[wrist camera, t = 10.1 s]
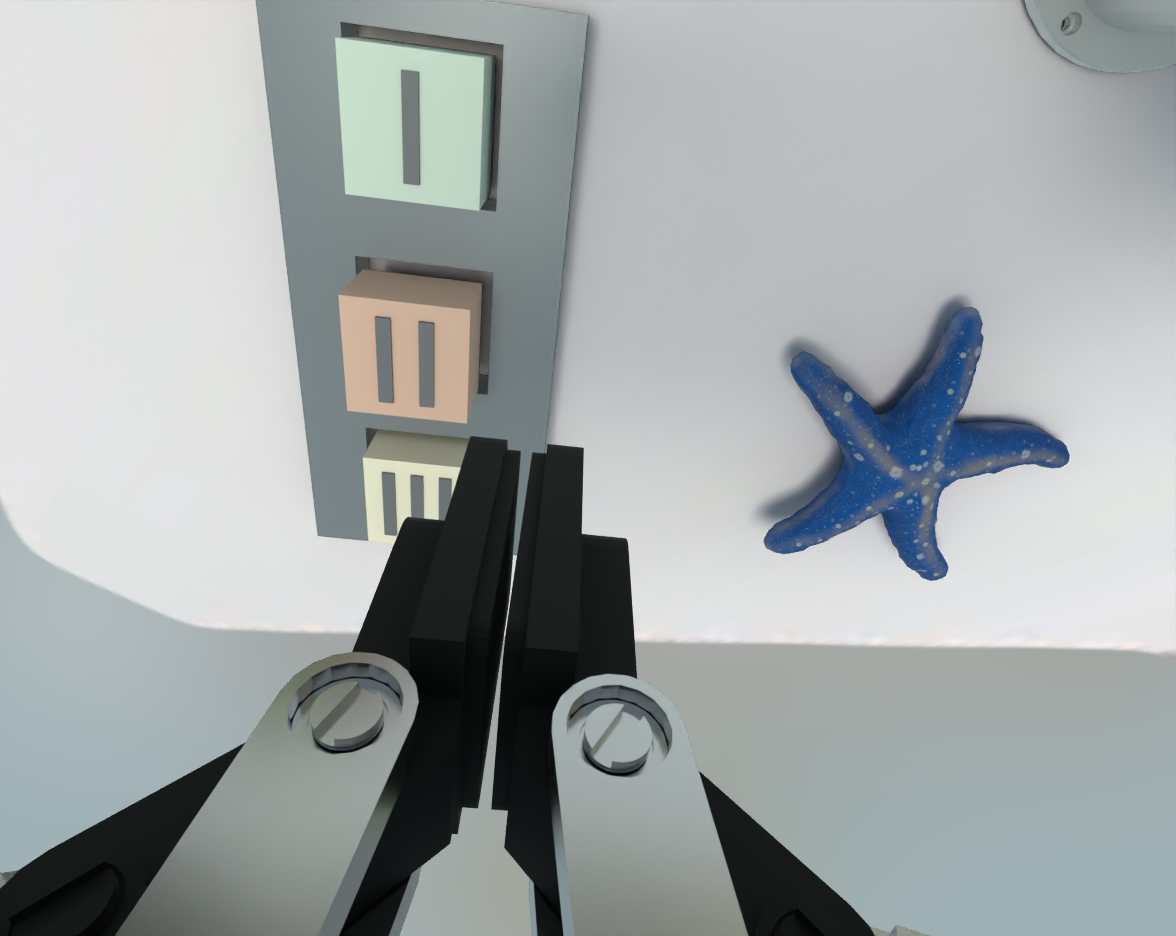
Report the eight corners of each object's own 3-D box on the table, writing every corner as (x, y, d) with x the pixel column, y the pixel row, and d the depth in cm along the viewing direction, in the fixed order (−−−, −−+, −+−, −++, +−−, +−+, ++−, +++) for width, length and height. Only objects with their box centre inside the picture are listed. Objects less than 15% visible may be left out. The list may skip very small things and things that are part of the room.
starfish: (1013, 552, 48) (1053, 602, 44) (746, 558, 49) (760, 608, 44) (1114, 289, 38) (1179, 321, 34) (776, 299, 39) (799, 332, 34)
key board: (588, 16, 31) (588, 14, 29) (536, 533, 47) (533, 556, 45) (275, -29, 31) (251, -34, 28) (330, 513, 47) (317, 536, 44)
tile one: (496, 55, 31) (483, 58, 28) (490, 193, 35) (478, 211, 31) (363, 36, 31) (333, 37, 28) (369, 178, 34) (343, 194, 31)
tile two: (482, 283, 35) (469, 311, 32) (478, 388, 38) (466, 425, 35) (363, 269, 35) (336, 296, 31) (369, 377, 38) (346, 412, 34)
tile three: (480, 433, 42) (470, 470, 39) (477, 512, 45) (467, 553, 42) (381, 423, 42) (361, 459, 38) (385, 503, 45) (367, 543, 41)
